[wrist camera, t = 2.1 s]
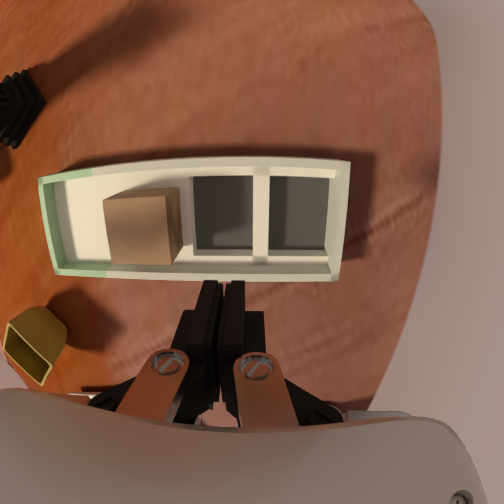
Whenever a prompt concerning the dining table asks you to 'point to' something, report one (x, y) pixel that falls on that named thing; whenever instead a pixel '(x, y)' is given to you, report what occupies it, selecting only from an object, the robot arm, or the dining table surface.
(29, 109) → the chess piece
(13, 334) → the flower pot
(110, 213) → the walnut block
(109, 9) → the dining table surface
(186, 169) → the tray
